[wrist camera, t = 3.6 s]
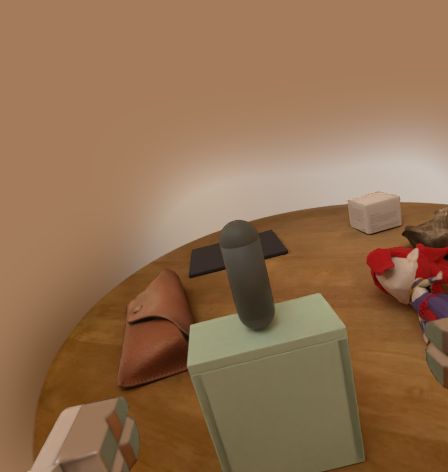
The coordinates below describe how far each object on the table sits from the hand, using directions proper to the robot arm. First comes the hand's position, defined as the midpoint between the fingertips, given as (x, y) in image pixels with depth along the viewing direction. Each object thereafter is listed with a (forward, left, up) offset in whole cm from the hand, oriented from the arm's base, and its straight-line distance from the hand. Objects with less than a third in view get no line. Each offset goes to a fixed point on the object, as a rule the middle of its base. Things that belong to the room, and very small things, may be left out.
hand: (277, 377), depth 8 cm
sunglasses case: (-11, +25, -13) cm, 31 cm away
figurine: (+15, +16, -13) cm, 26 cm away
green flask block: (0, +8, -13) cm, 15 cm away
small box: (+23, +40, -13) cm, 48 cm away
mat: (0, +44, -13) cm, 46 cm away
